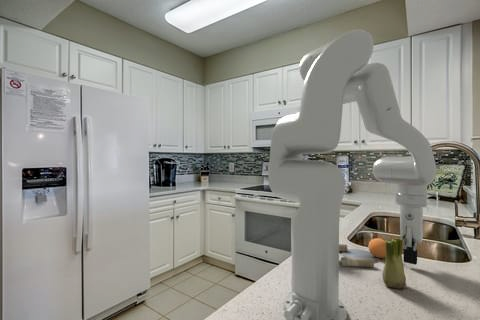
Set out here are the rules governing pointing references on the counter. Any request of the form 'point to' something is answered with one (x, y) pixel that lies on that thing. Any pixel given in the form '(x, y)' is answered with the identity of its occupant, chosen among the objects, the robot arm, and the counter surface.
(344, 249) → the back pin
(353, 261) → the front pin
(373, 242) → the ball
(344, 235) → the counter surface
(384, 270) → the fennel bulb
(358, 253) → the light blue plate
